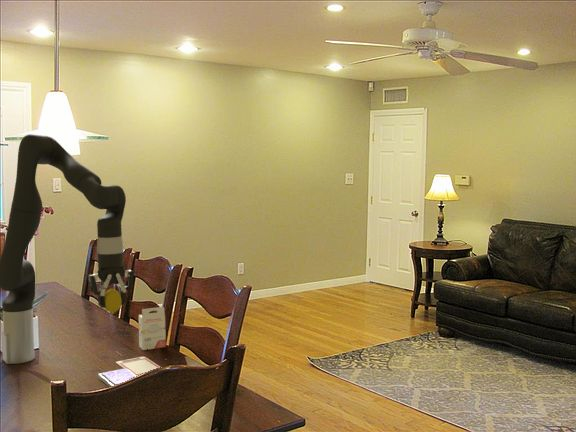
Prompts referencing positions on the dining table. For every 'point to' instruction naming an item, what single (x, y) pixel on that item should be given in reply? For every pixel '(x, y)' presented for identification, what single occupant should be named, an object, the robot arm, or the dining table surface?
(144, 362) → the marked sheet
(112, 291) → the lemon
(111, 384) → the ink pad
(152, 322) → the ink cartridge box
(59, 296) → the dining table surface
